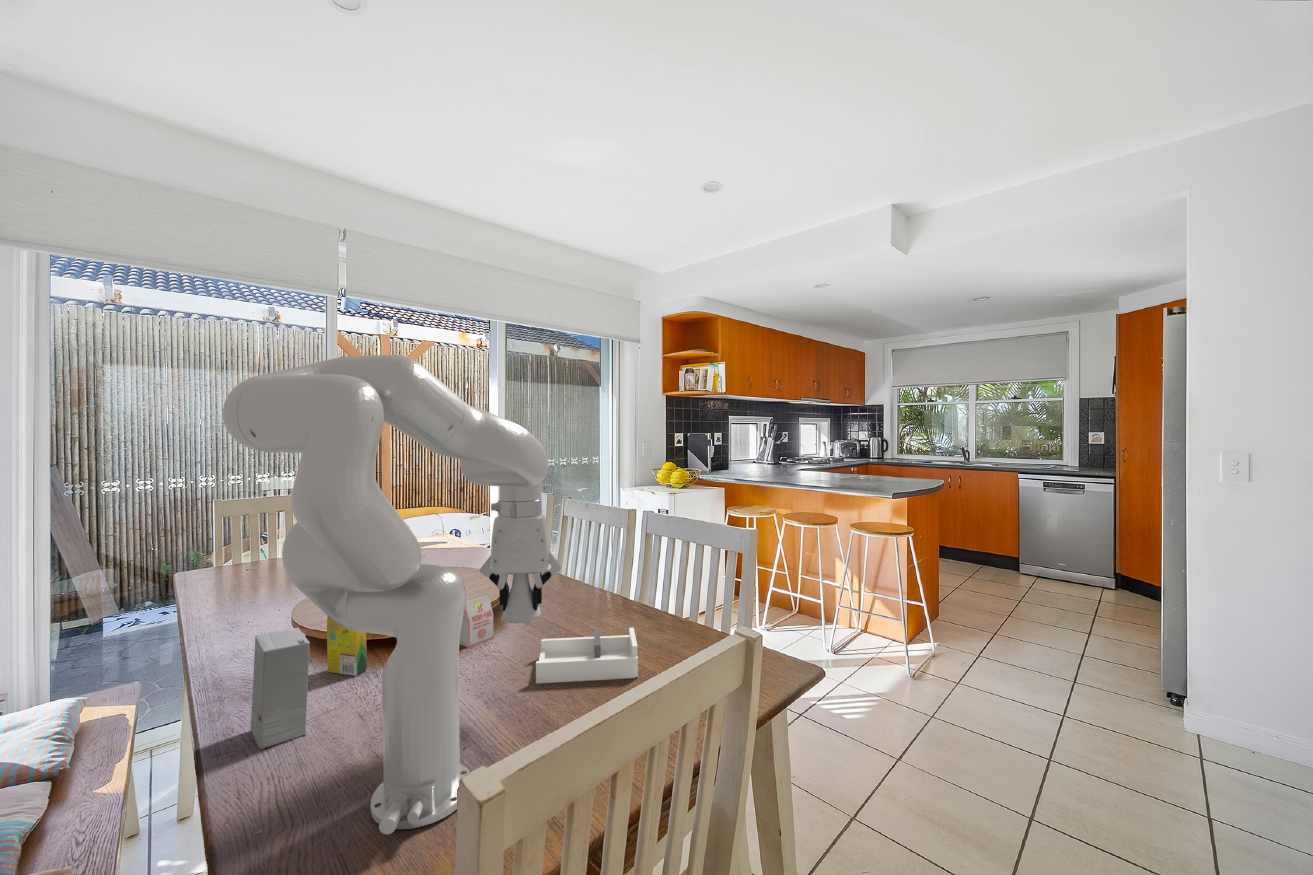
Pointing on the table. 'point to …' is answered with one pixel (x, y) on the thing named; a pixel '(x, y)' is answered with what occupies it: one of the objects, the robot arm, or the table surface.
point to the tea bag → (476, 622)
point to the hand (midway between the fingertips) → (521, 607)
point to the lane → (587, 659)
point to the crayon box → (345, 649)
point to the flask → (520, 602)
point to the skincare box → (280, 687)
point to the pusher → (597, 644)
